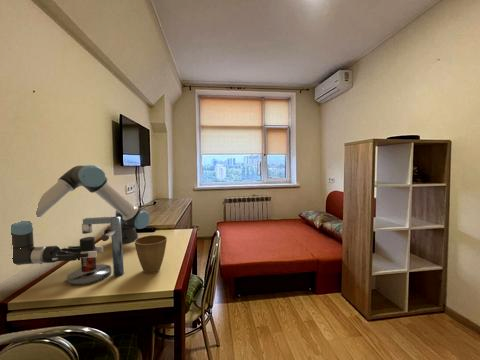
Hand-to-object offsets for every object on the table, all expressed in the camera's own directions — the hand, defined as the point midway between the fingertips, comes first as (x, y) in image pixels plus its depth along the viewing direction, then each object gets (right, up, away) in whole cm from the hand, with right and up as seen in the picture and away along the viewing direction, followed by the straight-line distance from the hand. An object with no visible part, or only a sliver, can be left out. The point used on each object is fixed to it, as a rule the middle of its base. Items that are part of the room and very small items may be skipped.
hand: (99, 251), depth 113 cm
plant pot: (+23, -11, +5) cm, 26 cm away
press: (0, -12, -2) cm, 12 cm away
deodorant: (-5, -9, 0) cm, 10 cm away
